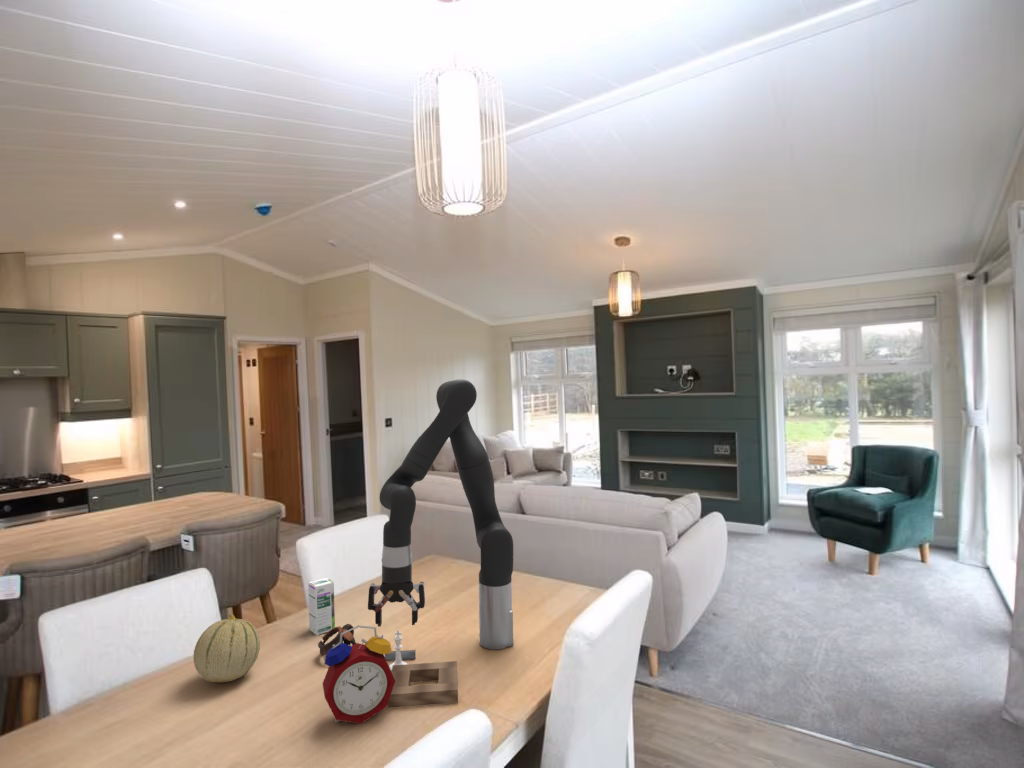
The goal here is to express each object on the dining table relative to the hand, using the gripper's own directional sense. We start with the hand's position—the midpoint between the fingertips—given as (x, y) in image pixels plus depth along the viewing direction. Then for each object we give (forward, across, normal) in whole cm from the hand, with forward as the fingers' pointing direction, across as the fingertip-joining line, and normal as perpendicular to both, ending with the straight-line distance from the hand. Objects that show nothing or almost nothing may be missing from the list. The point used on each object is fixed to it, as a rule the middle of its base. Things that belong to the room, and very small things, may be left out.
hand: (396, 624), depth 140 cm
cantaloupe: (+12, +41, 0) cm, 43 cm away
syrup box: (+12, +25, -26) cm, 37 cm away
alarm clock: (+12, +6, +18) cm, 23 cm away
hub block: (+11, -8, +11) cm, 17 cm away
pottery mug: (+12, +16, -10) cm, 22 cm away
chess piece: (+12, -1, 0) cm, 12 cm away
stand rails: (+11, -1, 0) cm, 11 cm away
